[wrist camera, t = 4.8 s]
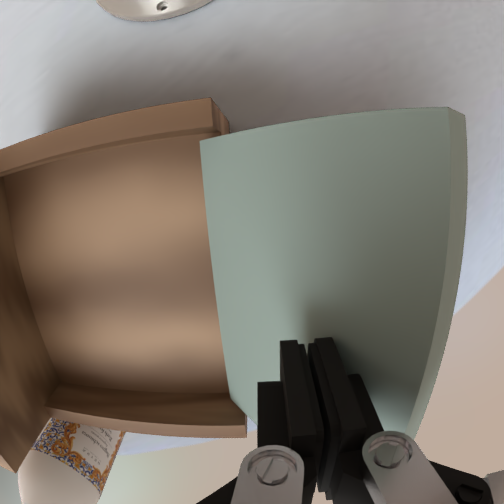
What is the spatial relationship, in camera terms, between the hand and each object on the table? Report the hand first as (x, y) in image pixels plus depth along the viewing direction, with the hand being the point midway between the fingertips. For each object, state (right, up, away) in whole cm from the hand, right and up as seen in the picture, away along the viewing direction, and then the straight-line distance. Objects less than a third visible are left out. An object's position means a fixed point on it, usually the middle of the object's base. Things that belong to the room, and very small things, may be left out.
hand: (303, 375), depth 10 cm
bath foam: (-17, -10, +18) cm, 26 cm away
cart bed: (-11, +4, +13) cm, 17 cm away
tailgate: (-3, +2, +7) cm, 8 cm away
